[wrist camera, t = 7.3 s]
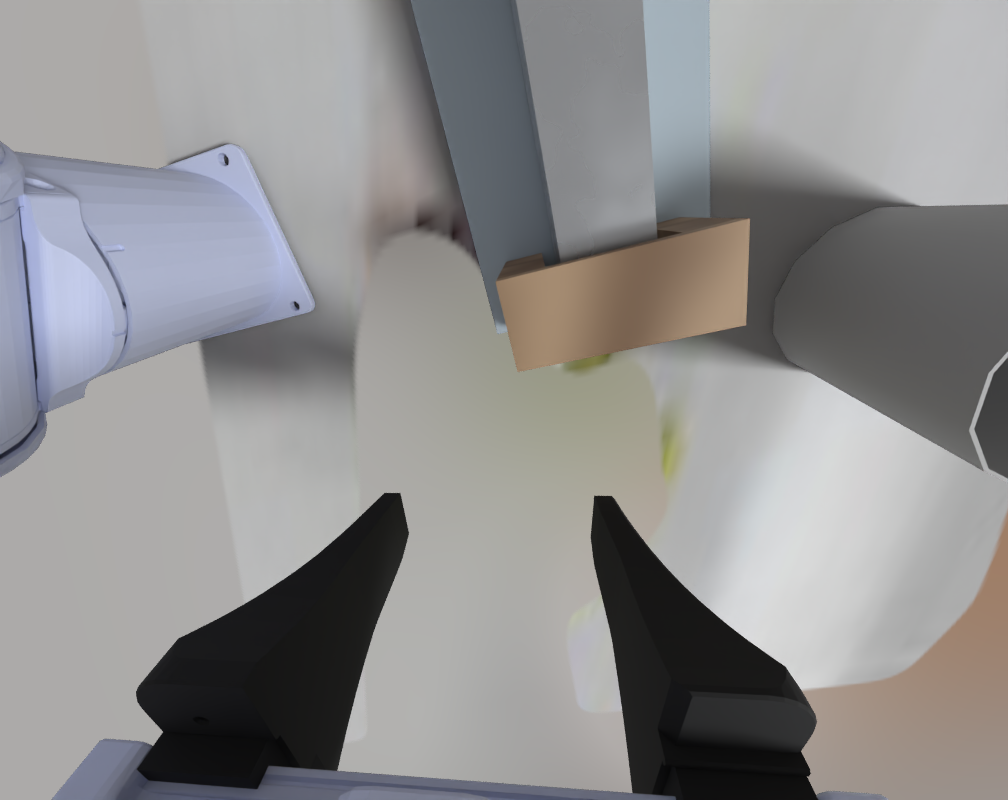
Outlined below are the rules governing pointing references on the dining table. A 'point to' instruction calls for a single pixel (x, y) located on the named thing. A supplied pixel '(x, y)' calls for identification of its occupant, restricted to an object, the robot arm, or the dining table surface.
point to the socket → (628, 293)
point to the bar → (589, 120)
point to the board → (508, 129)
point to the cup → (911, 321)
